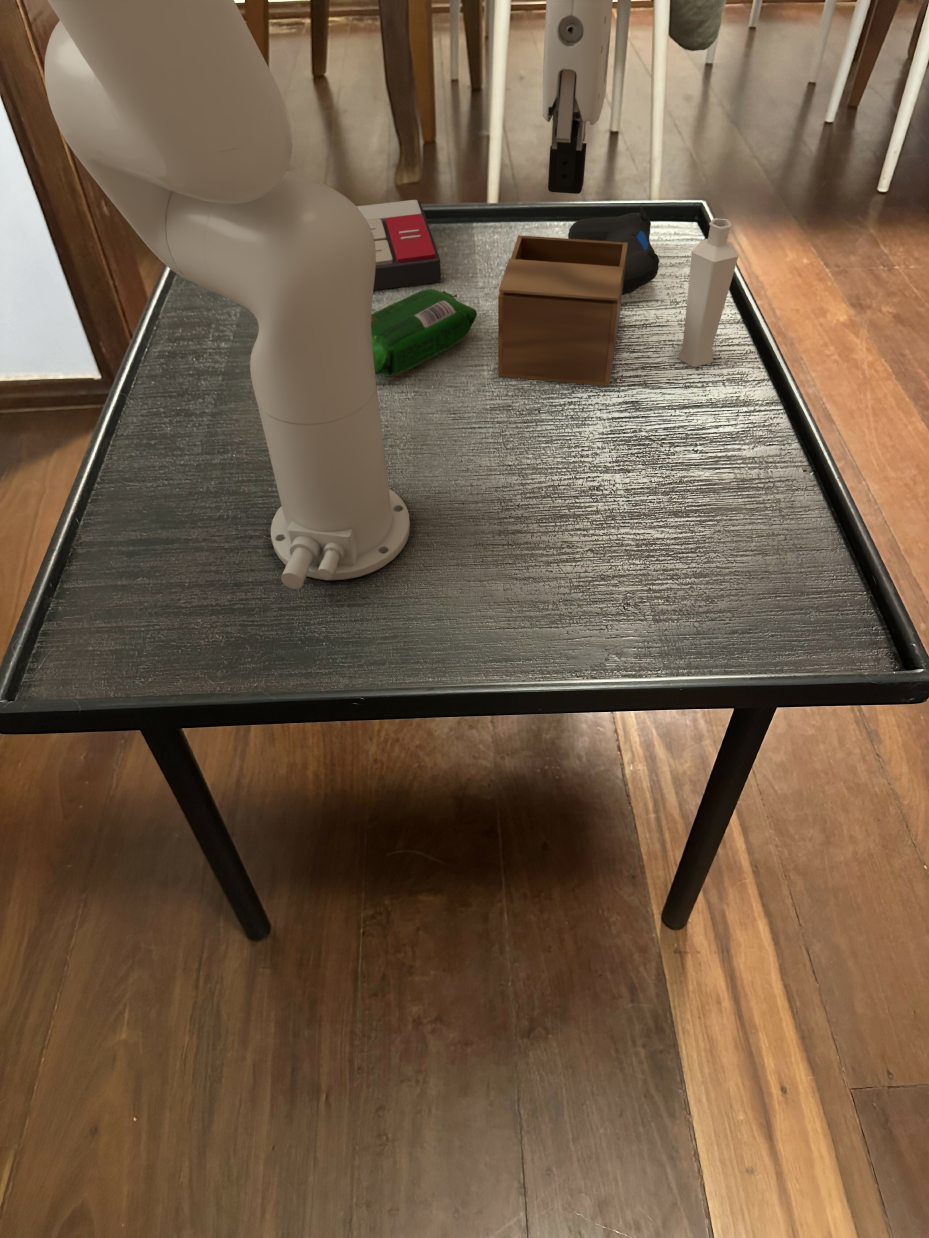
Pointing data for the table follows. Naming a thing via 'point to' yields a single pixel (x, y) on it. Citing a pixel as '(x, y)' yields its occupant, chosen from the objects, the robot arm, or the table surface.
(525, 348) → the open wooden box
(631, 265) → the gaming controller
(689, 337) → the perfume bottle
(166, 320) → the table surface
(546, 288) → the flap
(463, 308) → the snack package
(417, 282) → the calculator
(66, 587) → the table surface
